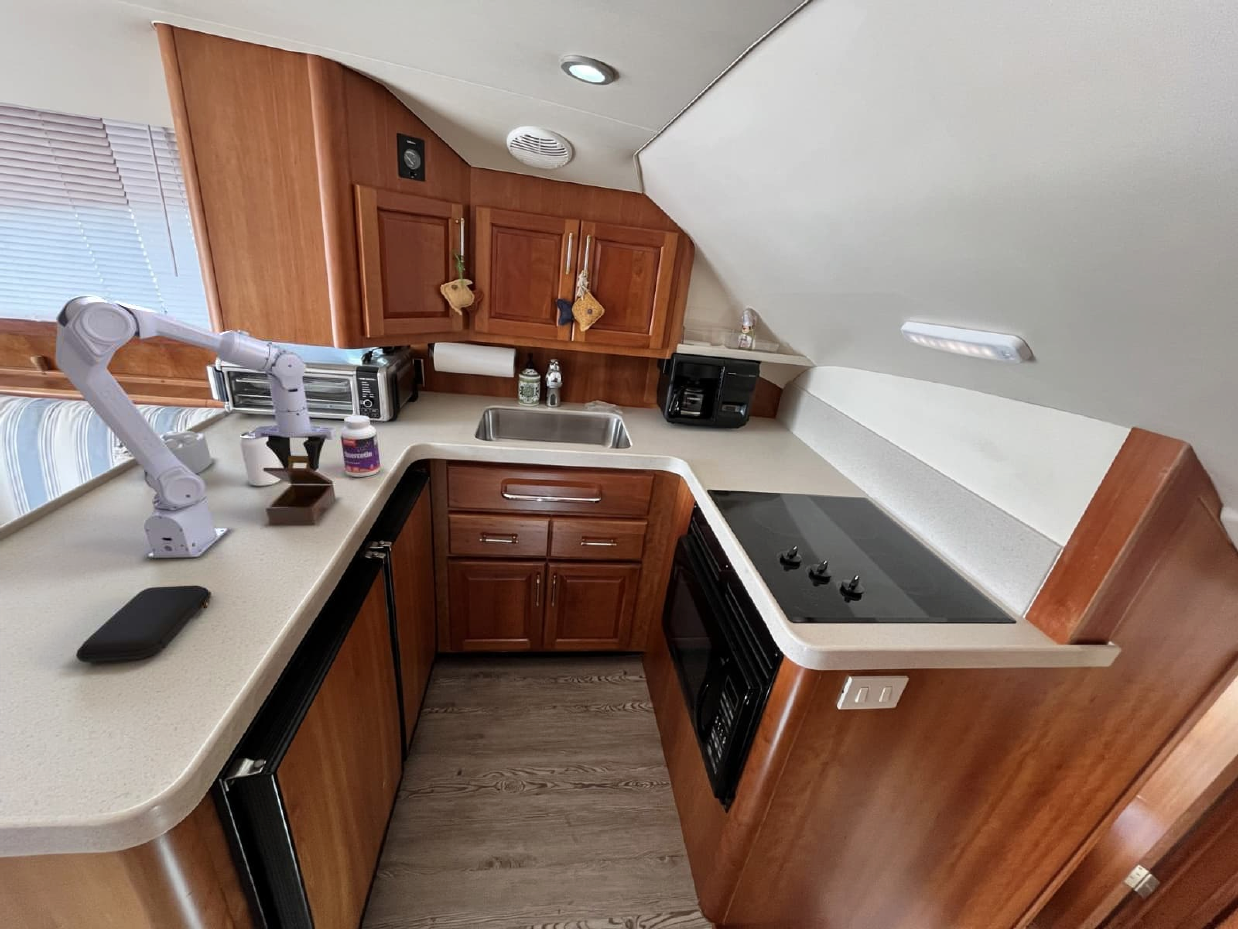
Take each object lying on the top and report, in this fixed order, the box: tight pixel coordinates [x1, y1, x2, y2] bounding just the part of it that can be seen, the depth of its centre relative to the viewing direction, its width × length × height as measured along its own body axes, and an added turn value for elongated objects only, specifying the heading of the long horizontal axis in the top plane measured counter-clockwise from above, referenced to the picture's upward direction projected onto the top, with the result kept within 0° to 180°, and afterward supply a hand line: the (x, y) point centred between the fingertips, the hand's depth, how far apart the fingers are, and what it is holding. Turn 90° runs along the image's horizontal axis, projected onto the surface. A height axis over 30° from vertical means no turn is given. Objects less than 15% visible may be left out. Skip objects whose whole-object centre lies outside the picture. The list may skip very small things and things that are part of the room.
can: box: [239, 430, 282, 487], centre depth 115 cm, size 6×6×12 cm
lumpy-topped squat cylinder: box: [158, 430, 213, 475], centre depth 117 cm, size 10×13×9 cm
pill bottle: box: [339, 414, 381, 478], centre depth 123 cm, size 8×8×14 cm
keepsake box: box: [265, 484, 337, 525], centre depth 105 cm, size 11×9×4 cm
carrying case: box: [76, 584, 212, 664], centre depth 72 cm, size 11×3×15 cm
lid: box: [263, 454, 334, 485], centre depth 104 cm, size 12×9×5 cm
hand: (302, 469), depth 104 cm, fingers closed on lid, 4 cm apart
